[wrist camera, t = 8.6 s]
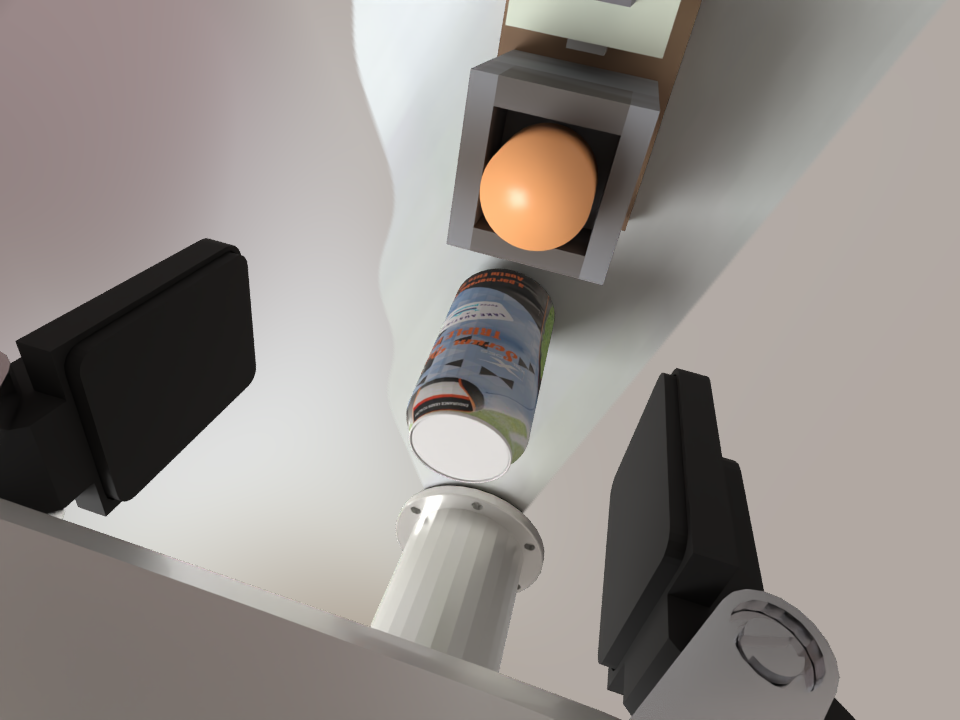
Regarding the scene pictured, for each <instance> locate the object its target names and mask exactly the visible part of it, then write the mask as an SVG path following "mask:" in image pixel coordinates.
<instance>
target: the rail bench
mask: <svg viewBox="0 0 960 720" xmlns="http://www.w3.org/2000/svg"><path fill="white" fill-rule="evenodd" d="M701 1H702V0H681V2H680V5H679V8H678V11H677V14H676V17H675V21H674V24H673V27H672V30H671V33H670V36H669V40H668V43H667V46H666V49H665V52H664V56H663V59H662V58H657V57H652V56H648V55H643V54H638V53H634V52H629V51H624V50H620V49H615V48H610V47H606V46H601V45H597V44H592V43H587V42H583V41H578V40H573V39H569V38H564V37H559V36H555V35H550V34H546V33H541V32H536V31H532V30H527V29H522V28H518V27H513V26H508V25H505V23H506V17H507V11H508V5H509V0H506V6H505V12H504V18H503V24H502V31H501V37H500V43H499V49H498V55H497V57H496V58H494V59H491V60H489V61H487V62H485V63H482V64H480V65H478V66H476V67H474V68H471V71H470V78H469V85H468V92H467V100H466V107H465V114H464V121H463V129H462V136H461V143H460V150H459V158H458V165H457V172H456V179H455V187H454V194H453V201H452V208H451V216H450V223H449V230H448V237H447V244H448V245H452V246H456V247H459V248H463V249H467V250H471V251H474V252H478V253H482V254H486V255H490V256H493V257H497V258H501V259H505V260H509V261H512V262H516V263H520V264H524V265H528V266H531V267H535V268H539V269H543V270H546V271H550V272H554V273H558V274H562V275H565V276H569V277H573V278H577V279H581V280H584V281H588V282H592V283H596V284H600V285H603V283H604V280H605V277H606V274H607V271H608V268H609V265H610V262H611V259H612V256H613V253H614V250H615V247H616V244H617V241H618V238H619V235H620V232H621V230H622V231H625V229H626V226H627V223H628V220H629V217H630V214H631V211H632V208H633V205H634V202H635V199H636V196H637V193H638V190H639V187H640V184H641V181H642V178H643V175H644V172H645V169H646V166H647V163H648V160H649V157H650V154H651V151H652V148H653V145H654V142H655V139H656V136H657V133H658V130H659V127H660V124H661V121H662V118H663V115H664V112H665V109H666V106H667V103H668V100H669V97H670V94H671V91H672V88H673V85H674V82H675V79H676V76H677V73H678V70H679V67H680V64H681V61H682V58H683V55H684V52H685V49H686V46H687V43H688V40H689V37H690V34H691V31H692V28H693V25H694V22H695V19H696V16H697V13H698V10H699V7H700V4H701ZM538 123H555V124H560V125H563V126H566V127H568V128H570V129H572V130H574V131H575V132H577V133H578V134H579V135H580V136H581V137H583V138H584V140H585V141H586V142H587V143H588V145H589V146H590V148H591V149H592V151H593V153H594V156H595V159H596V162H597V167H598V184H597V189H596V193H595V196H594V200H593V204H592V207H591V211H590V214H589V217H588V219H587V221H586V223H585V225H584V226H583V228H582V229H581V230H580V232H579V233H578V234H577V235H576V236H575V237H574V238H572V239H571V240H570V241H568V242H567V243H565V244H564V245H561V246H559V247H557V248H554V249H550V250H545V251H530V250H524V249H521V248H518V247H515V246H513V245H511V244H509V243H508V242H506V241H504V240H503V239H502V238H501V237H499V236H498V235H497V234H496V233H495V232H494V230H493V229H492V228H491V226H490V225H489V223H488V222H487V220H486V218H485V216H484V213H483V210H482V207H481V202H480V184H481V179H482V176H483V173H484V170H485V168H486V166H487V165H488V163H489V161H490V160H491V159H492V157H493V156H494V155H495V154H496V153H497V152H498V151H499V150H500V149H501V148H502V147H503V146H504V144H505V143H506V142H507V141H508V140H509V139H510V138H511V137H512V136H513V135H514V134H516V133H517V132H518V131H520V130H522V129H523V128H525V127H528V126H530V125H534V124H538Z"/></svg>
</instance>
